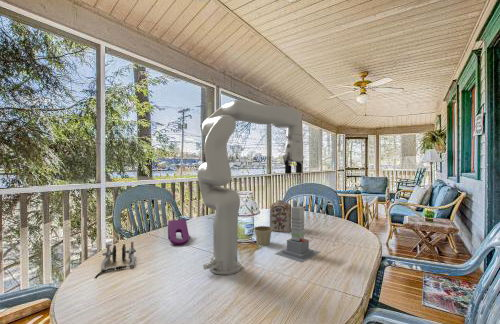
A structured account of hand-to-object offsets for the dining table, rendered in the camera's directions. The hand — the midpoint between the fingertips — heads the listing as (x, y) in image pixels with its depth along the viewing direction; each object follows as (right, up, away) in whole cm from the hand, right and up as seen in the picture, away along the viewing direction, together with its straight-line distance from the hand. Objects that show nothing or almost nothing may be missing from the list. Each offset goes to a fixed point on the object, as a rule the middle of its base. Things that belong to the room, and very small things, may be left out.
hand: (293, 173), depth 127 cm
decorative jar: (-2, -36, +32) cm, 49 cm away
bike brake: (-75, -37, -23) cm, 87 cm away
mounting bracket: (-60, -37, +10) cm, 71 cm away
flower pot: (-15, -37, +2) cm, 39 cm away
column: (0, -29, -12) cm, 32 cm away
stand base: (0, -36, -12) cm, 38 cm away
